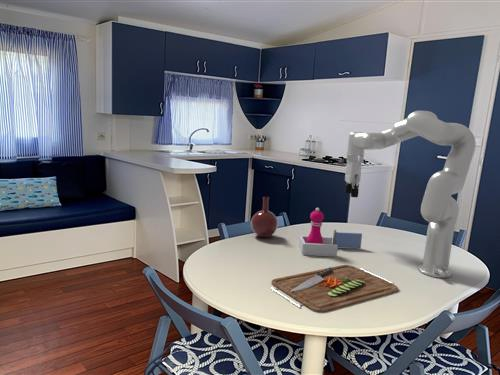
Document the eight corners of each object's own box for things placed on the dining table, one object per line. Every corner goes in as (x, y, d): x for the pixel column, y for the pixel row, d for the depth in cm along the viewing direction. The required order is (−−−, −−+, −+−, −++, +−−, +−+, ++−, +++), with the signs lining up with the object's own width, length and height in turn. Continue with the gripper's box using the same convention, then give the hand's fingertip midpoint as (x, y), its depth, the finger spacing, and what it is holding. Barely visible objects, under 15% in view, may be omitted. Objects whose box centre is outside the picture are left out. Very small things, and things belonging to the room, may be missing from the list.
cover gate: (359, 247, 196) (361, 231, 194) (360, 248, 195) (362, 231, 193) (331, 246, 195) (333, 229, 194) (332, 247, 194) (334, 230, 193)
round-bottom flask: (250, 232, 212) (252, 193, 209) (276, 233, 212) (279, 195, 208) (249, 239, 199) (252, 198, 196) (277, 241, 199) (280, 200, 195)
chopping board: (310, 317, 127) (311, 308, 127) (261, 284, 149) (262, 276, 149) (406, 290, 151) (407, 282, 151) (351, 266, 173) (352, 259, 173)
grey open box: (336, 256, 182) (337, 245, 182) (302, 254, 182) (303, 243, 181) (330, 247, 195) (331, 237, 194) (298, 245, 194) (299, 235, 193)
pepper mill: (323, 254, 185) (327, 210, 181) (306, 252, 185) (310, 209, 181) (320, 248, 192) (324, 206, 188) (305, 247, 192) (308, 205, 188)
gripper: (342, 156, 202) (339, 191, 205) (351, 160, 185) (348, 198, 188) (357, 157, 202) (354, 192, 205) (368, 161, 185) (364, 199, 188)
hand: (351, 195), depth 196 cm, fingers open, 9 cm apart
